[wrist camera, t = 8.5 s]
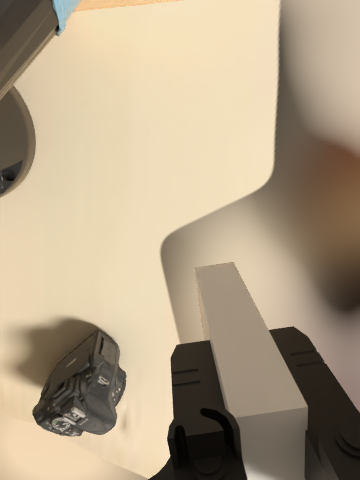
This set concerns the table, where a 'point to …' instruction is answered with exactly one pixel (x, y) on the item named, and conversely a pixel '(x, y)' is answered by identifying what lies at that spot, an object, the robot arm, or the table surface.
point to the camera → (83, 390)
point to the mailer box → (113, 3)
